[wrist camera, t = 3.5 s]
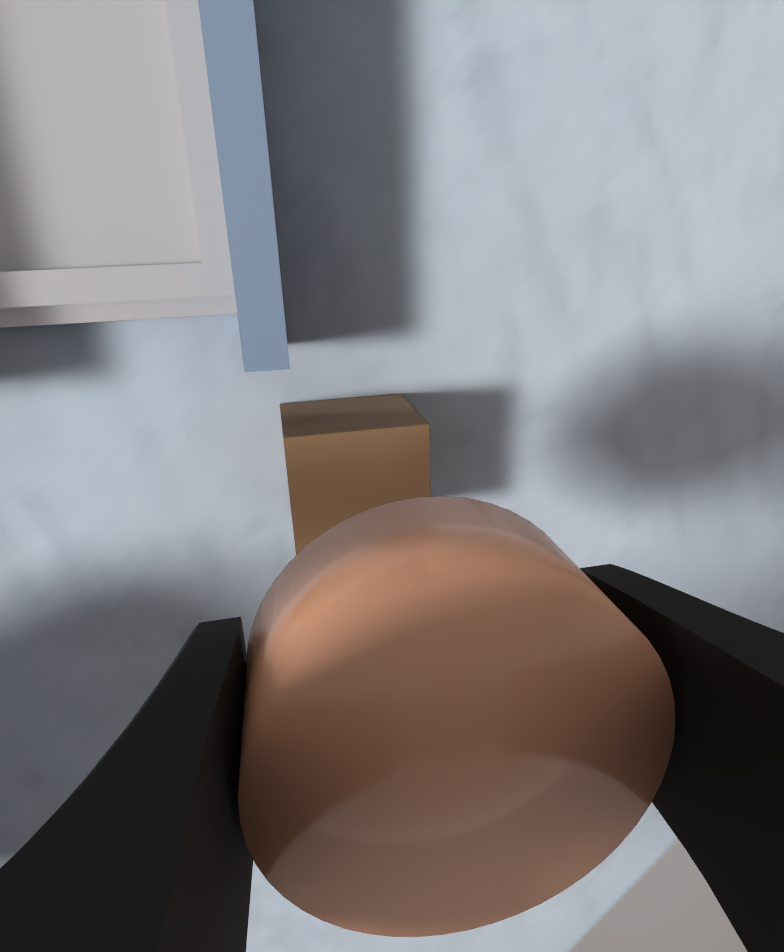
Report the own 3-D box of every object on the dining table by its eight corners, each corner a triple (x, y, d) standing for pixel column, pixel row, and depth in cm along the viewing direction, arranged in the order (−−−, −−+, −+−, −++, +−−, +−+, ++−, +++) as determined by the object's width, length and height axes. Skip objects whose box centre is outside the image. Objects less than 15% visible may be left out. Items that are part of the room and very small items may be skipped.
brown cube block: (404, 502, 20) (431, 552, 17) (291, 516, 19) (297, 569, 16) (400, 393, 19) (429, 423, 15) (279, 403, 18) (283, 438, 15)
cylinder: (573, 760, 11) (649, 889, 9) (267, 816, 10) (266, 976, 8) (598, 478, 9) (703, 552, 7) (223, 517, 8) (205, 617, 6)
